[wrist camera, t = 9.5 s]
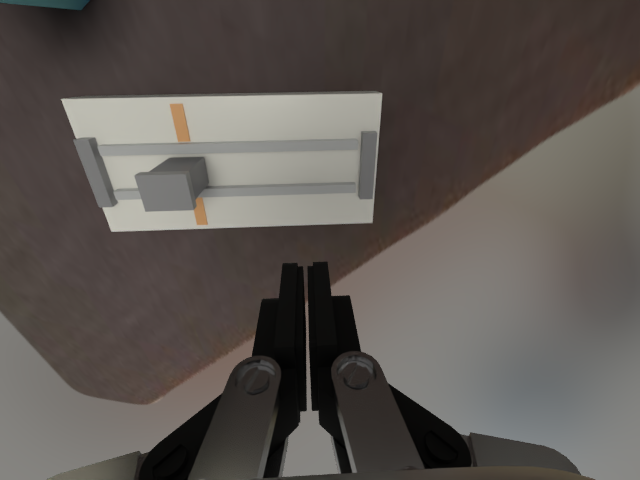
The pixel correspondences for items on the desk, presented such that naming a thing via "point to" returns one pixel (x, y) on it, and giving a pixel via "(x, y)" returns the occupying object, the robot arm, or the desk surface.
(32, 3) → the cup
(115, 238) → the desk surface
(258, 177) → the slider track base
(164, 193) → the fader tab
